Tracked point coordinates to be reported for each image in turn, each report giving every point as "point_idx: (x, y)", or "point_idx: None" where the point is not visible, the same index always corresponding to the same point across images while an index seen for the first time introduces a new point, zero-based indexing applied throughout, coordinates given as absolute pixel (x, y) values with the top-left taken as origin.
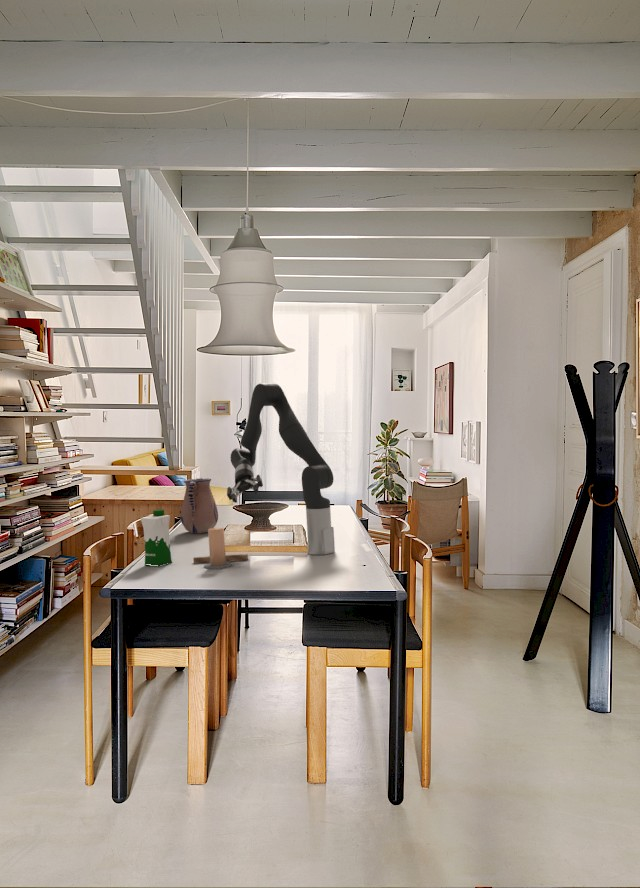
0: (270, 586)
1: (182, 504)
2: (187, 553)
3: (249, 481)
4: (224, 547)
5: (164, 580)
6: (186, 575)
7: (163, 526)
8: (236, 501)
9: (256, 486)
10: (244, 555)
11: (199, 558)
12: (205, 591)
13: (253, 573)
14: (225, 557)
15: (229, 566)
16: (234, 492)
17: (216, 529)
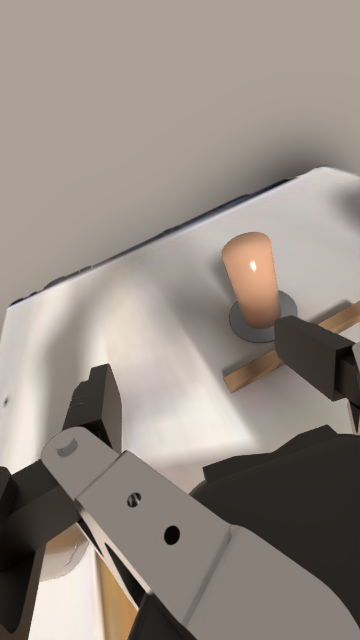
0: (115, 268)
1: None
2: None
3: (143, 505)
4: (235, 294)
5: (279, 217)
6: None
7: None
8: (275, 346)
9: (70, 418)
10: (230, 374)
11: (343, 311)
12: (179, 225)
13: (158, 300)
14: (242, 312)
15: (230, 318)
16: (355, 361)
17: (236, 244)
